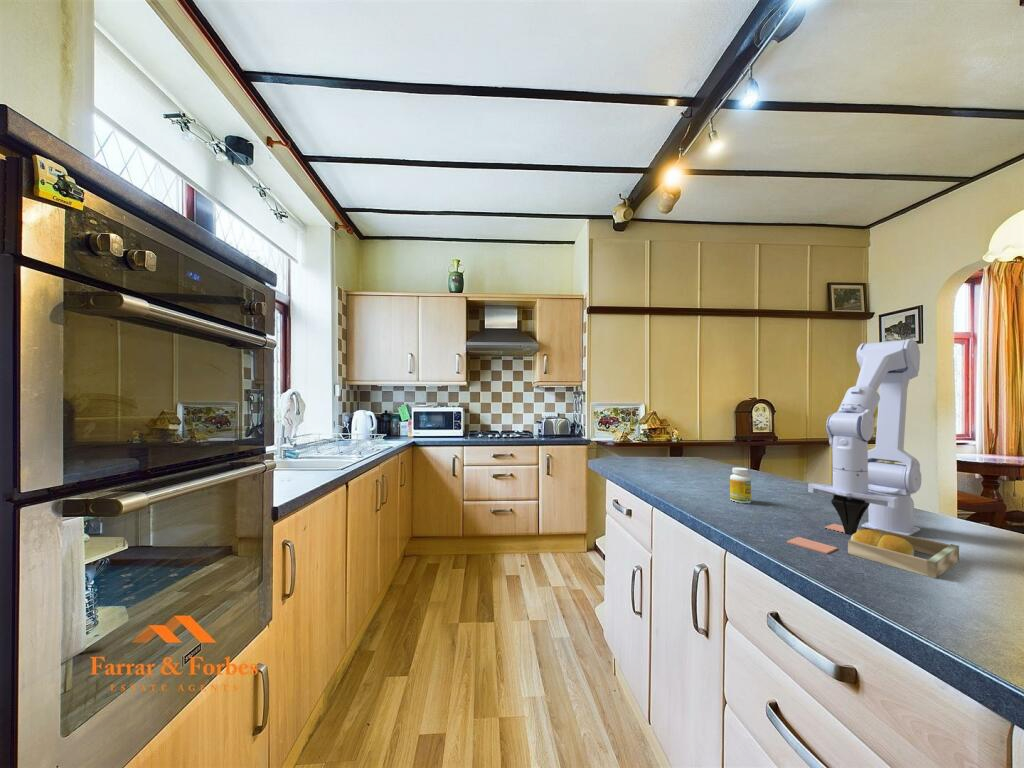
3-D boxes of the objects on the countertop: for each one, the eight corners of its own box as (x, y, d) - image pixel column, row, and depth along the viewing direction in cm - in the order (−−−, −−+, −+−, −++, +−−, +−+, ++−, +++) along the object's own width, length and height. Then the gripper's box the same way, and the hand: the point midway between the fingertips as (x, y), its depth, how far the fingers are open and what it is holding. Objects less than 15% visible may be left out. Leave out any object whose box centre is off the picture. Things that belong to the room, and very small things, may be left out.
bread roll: (907, 565, 72) (907, 543, 73) (846, 548, 80) (846, 528, 80) (920, 555, 77) (919, 534, 77) (861, 540, 84) (860, 522, 85)
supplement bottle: (733, 498, 119) (733, 466, 119) (753, 501, 115) (753, 468, 116) (727, 501, 115) (727, 468, 116) (747, 505, 112) (747, 471, 112)
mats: (833, 524, 95) (833, 523, 95) (871, 533, 89) (871, 532, 89) (786, 542, 83) (786, 541, 83) (826, 554, 77) (826, 552, 77)
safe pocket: (876, 539, 85) (876, 527, 85) (959, 560, 75) (958, 545, 75) (847, 553, 77) (847, 539, 77) (935, 578, 67) (935, 562, 67)
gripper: (801, 465, 88) (802, 527, 87) (888, 477, 75) (889, 549, 75) (816, 462, 91) (816, 522, 91) (901, 474, 79) (902, 542, 78)
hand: (850, 534), depth 83 cm, fingers closed
